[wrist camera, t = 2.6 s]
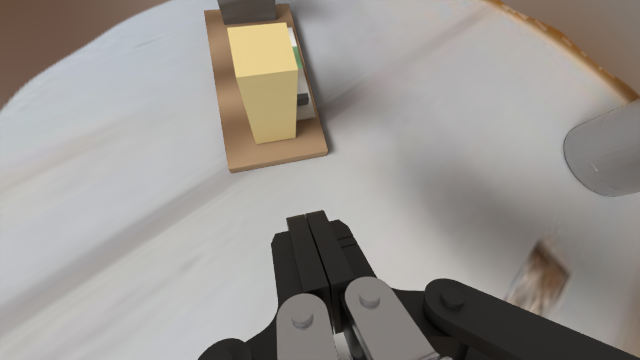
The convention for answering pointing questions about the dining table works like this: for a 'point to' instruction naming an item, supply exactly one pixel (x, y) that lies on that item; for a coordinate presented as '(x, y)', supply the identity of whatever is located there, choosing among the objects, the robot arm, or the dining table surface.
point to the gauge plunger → (267, 79)
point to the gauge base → (241, 150)
